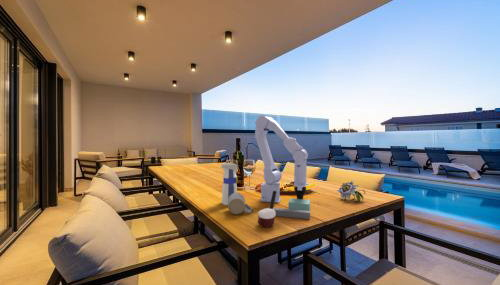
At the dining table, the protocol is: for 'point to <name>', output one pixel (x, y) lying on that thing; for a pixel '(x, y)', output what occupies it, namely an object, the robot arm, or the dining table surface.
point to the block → (299, 204)
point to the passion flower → (350, 191)
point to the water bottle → (229, 181)
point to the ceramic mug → (238, 204)
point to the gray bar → (292, 213)
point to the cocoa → (267, 214)
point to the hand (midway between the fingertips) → (299, 201)
